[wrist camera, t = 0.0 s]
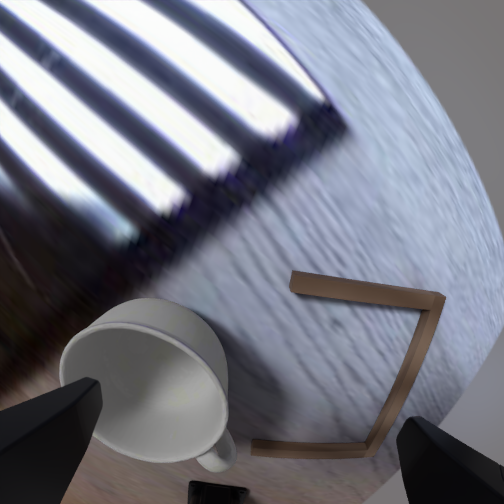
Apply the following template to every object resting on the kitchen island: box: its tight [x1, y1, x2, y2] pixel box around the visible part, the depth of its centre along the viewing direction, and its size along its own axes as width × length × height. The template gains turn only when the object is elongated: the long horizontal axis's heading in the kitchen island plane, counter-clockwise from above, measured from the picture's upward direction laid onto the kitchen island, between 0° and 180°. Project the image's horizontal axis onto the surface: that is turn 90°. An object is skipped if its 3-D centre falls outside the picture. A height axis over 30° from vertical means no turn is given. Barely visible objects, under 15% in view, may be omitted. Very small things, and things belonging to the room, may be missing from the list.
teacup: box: [59, 298, 237, 473], centre depth 19 cm, size 14×11×8 cm
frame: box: [251, 270, 446, 459], centre depth 23 cm, size 18×13×1 cm
